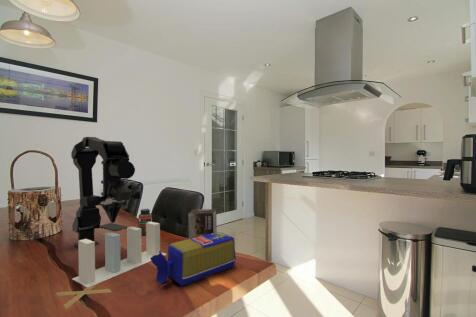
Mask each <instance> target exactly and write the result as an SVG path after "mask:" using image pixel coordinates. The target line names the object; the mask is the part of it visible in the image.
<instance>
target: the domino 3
mask: <svg viewBox="0 0 476 317" xmlns="http://www.w3.org/2000/svg"><path fill="white" fill-rule="evenodd" d="M127 227H128V228H126V254H127V256H126V258H127V261H130V262H132V263H135V264H138V263H140V262H142V252H143V250H142V242H143V241H142V235H141V228H138V227H136V226H127Z"/></svg>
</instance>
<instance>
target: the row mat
mask: <svg viewBox="0 0 476 317" xmlns="http://www.w3.org/2000/svg"><path fill="white" fill-rule="evenodd" d="M160 252H161V253H162V254H163V255H164V256H168V253H166V252H162V251H160ZM152 256H153V255H150V254H147V253H146V250H145V251H142V262H140V263H138V264H135V263H132V262H130V261H127V257H126V258H124V259H120V262H121V271H119V272H116V273H113V272H110V271H108V270H106V269H105V266H102V267H100V268H95V281H94V282H91V283H89V284H87V283H85V282H83V281H81V280H80V279H79V275H78V276H76V277H75V276H74V277H73V278H71V280H73V281H74V282H76V283H78V284H80V285H82V286H84V287H85V288H90V287H92V286H95V285H97V284H100V283H102V282H104V281H107V280H109V279H111V278H114V277H116V276H118V275H122V274H123V273H126V272H129V271H130V270H133V269H136V268H138V267H140V266H143V265H145V264H148V263H149V262H150V263H151V262H152V261H151V259H150V258H151V257H152Z"/></svg>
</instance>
